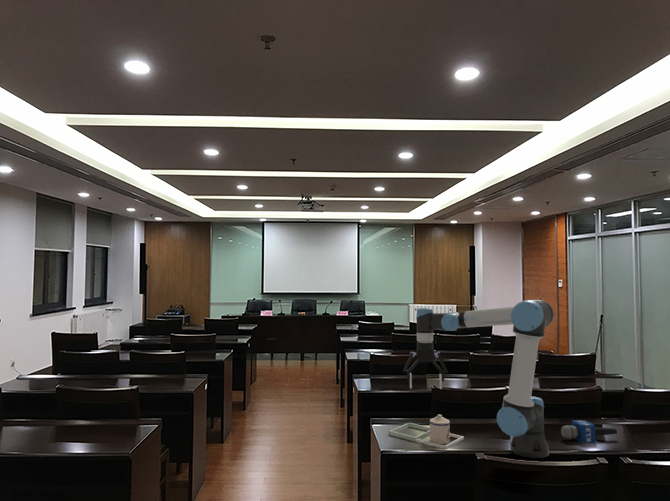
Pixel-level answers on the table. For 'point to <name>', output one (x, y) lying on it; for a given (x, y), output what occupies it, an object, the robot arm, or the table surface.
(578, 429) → the microphone
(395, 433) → the divided tray
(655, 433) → the table surface
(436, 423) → the teacup with lid
